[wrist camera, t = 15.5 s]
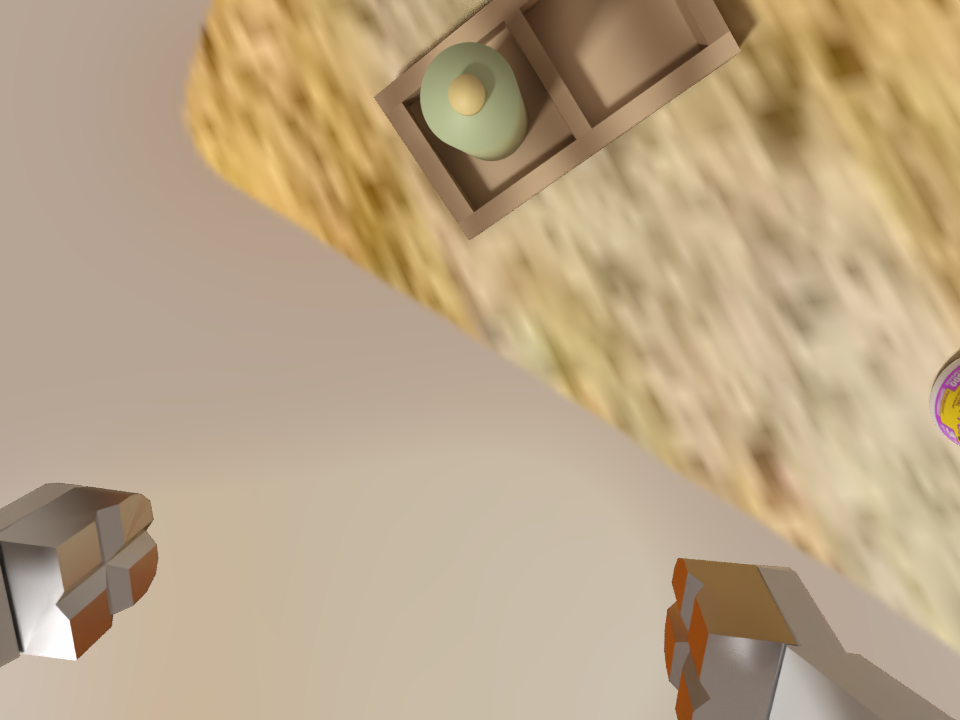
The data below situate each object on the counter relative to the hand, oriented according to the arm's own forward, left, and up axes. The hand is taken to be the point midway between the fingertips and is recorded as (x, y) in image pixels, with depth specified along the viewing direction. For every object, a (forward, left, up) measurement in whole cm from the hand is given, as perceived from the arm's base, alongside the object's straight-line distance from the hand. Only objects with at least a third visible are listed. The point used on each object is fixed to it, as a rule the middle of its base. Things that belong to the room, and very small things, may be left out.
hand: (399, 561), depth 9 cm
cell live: (-4, -9, -30) cm, 32 cm away
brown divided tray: (-8, -9, -31) cm, 33 cm away
